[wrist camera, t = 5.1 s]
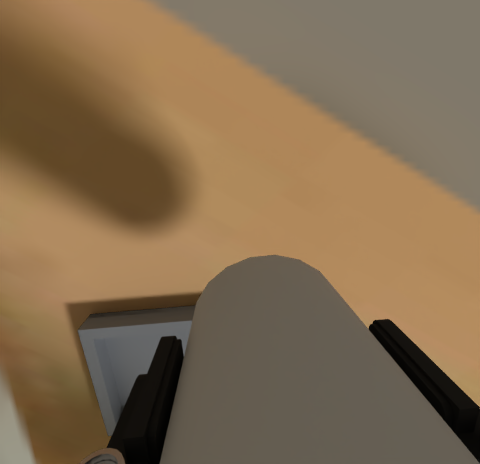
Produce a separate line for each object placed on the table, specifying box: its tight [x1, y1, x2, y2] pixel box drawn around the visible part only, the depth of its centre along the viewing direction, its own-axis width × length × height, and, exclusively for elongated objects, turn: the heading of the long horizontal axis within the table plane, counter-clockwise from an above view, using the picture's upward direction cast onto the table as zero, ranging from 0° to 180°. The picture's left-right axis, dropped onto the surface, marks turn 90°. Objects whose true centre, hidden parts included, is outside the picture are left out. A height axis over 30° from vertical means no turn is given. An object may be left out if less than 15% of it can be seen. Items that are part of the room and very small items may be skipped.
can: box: [160, 255, 480, 464], centre depth 8 cm, size 8×8×12 cm
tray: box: [78, 305, 196, 436], centre depth 24 cm, size 12×12×2 cm
